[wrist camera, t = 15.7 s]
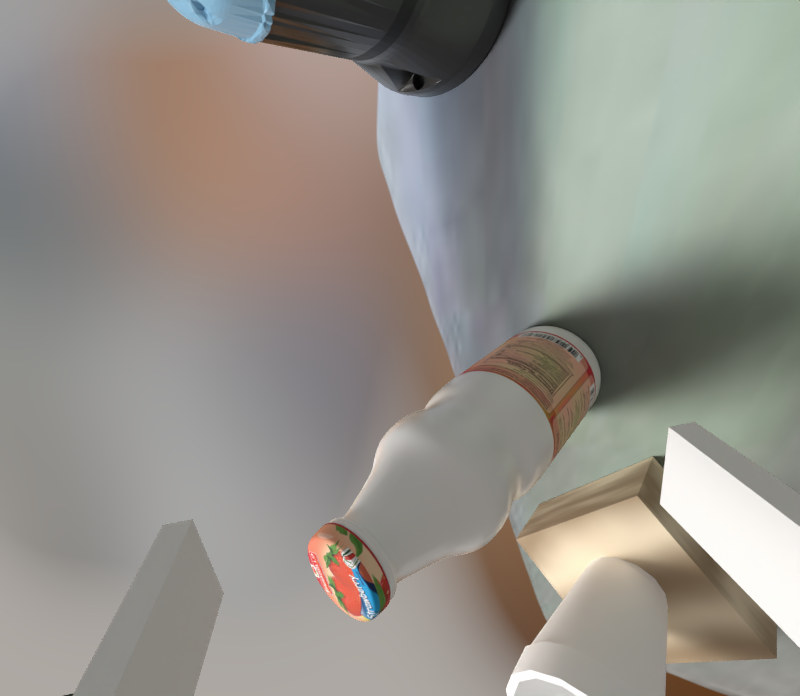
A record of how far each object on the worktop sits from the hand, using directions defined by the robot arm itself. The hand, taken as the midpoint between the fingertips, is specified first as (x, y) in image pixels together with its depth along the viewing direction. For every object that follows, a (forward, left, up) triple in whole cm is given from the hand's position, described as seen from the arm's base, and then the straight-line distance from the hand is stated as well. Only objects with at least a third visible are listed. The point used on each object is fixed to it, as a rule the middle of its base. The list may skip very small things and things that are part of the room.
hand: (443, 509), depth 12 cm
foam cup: (+19, -17, -24) cm, 35 cm away
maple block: (+19, -17, -29) cm, 39 cm away
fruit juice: (+1, -12, -30) cm, 32 cm away
